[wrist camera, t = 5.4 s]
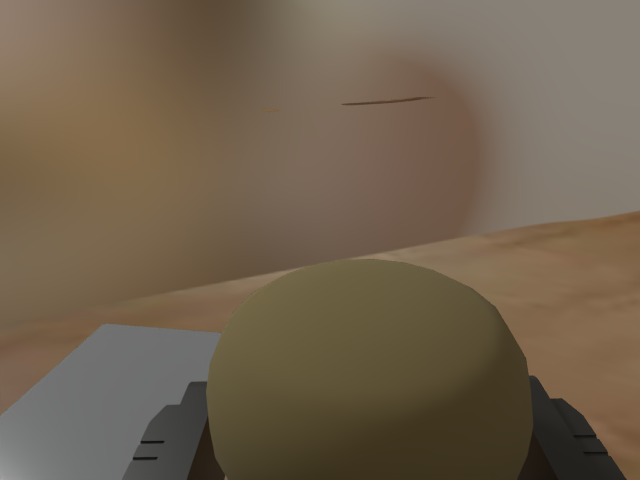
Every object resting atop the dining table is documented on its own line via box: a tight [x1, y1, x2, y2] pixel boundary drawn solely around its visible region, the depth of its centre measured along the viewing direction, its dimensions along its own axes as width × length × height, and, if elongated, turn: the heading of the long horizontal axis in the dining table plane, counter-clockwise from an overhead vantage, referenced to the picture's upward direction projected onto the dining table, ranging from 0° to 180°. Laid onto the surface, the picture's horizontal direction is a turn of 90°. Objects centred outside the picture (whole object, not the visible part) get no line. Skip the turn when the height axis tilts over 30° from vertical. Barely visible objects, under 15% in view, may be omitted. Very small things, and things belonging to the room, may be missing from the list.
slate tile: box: [0, 324, 222, 480], centre depth 21 cm, size 10×10×1 cm
